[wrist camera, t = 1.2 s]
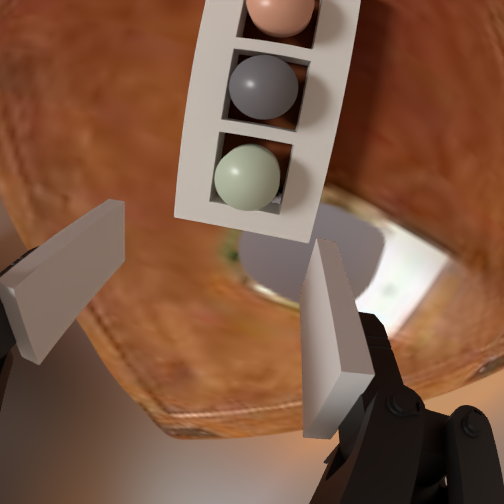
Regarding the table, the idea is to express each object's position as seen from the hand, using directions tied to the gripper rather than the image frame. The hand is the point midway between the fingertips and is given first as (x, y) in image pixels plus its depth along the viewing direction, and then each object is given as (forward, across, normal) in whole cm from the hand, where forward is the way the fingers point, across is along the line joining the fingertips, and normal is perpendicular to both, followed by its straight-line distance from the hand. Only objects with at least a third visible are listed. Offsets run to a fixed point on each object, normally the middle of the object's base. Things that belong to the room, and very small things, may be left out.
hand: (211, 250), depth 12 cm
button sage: (+15, 0, 0) cm, 15 cm away
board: (+17, 0, +7) cm, 19 cm away
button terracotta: (+15, 0, +14) cm, 20 cm away
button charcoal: (+15, 0, +7) cm, 16 cm away
